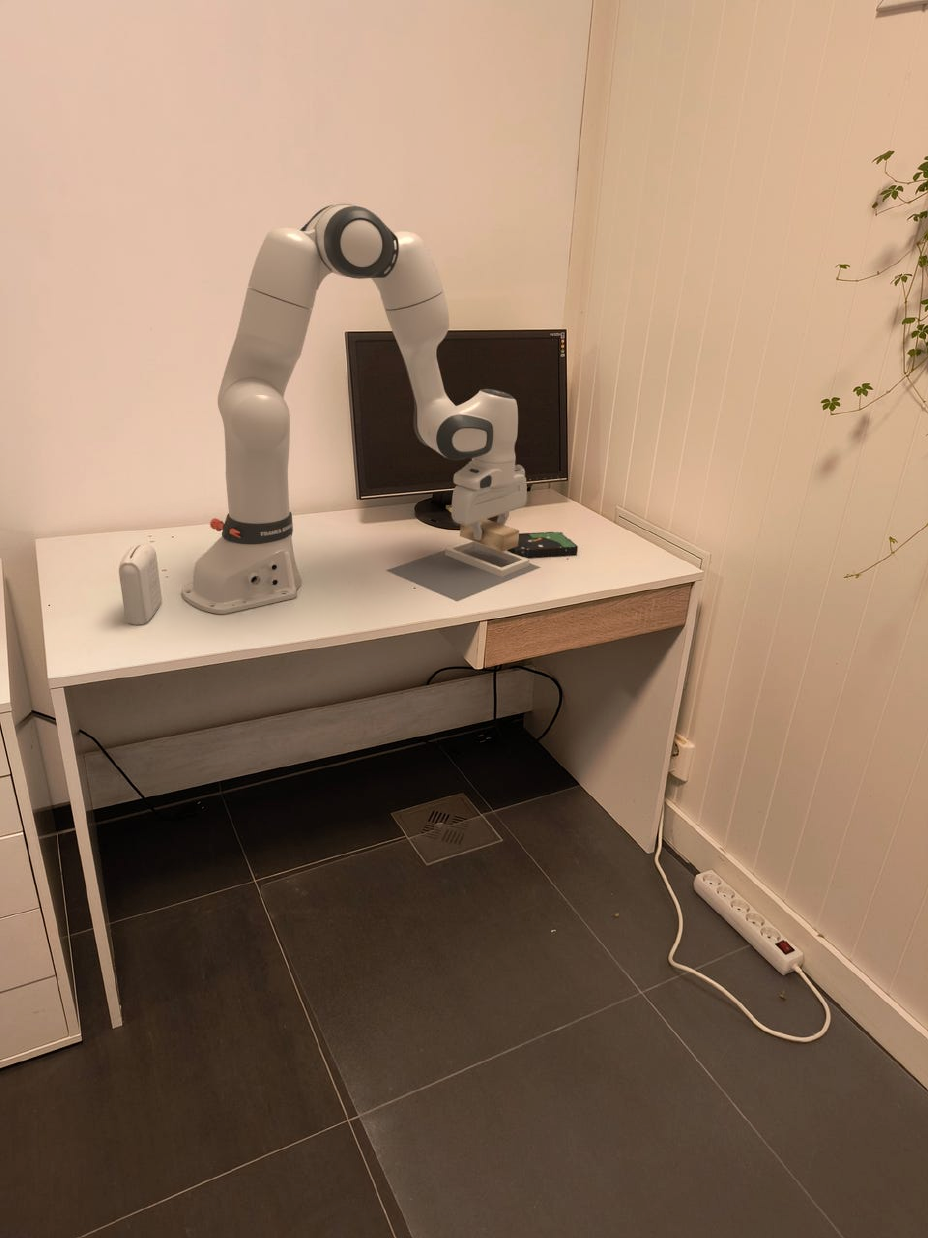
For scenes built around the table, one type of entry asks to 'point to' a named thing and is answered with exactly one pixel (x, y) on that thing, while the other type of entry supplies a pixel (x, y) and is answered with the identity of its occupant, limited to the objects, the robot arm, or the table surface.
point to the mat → (464, 569)
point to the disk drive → (544, 545)
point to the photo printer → (140, 583)
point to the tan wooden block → (493, 535)
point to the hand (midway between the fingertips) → (488, 535)
